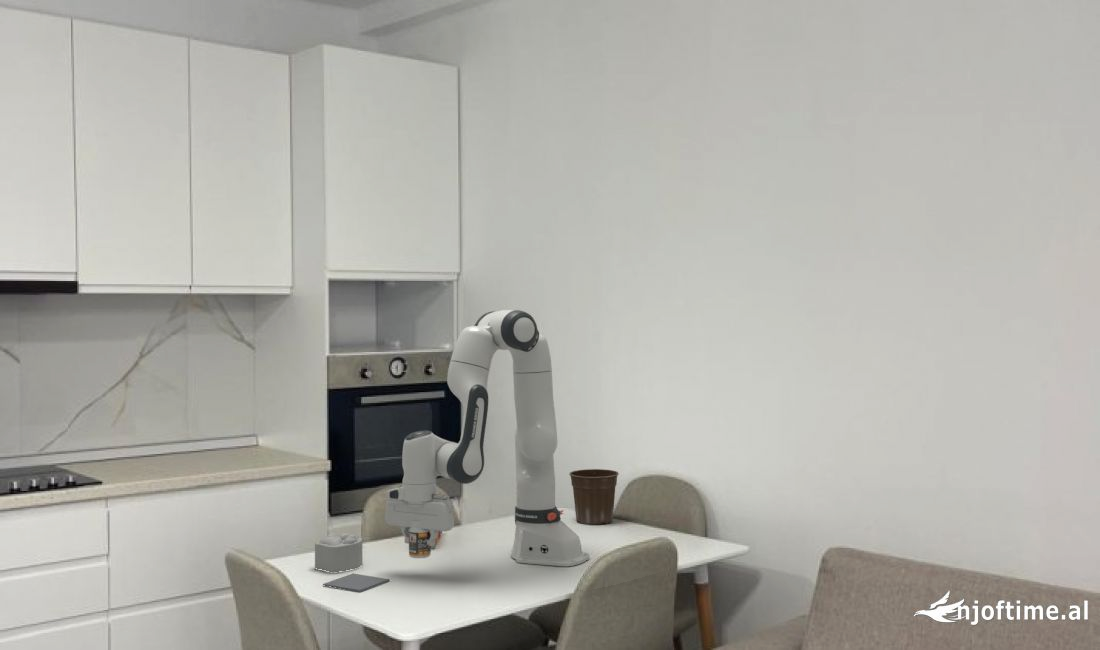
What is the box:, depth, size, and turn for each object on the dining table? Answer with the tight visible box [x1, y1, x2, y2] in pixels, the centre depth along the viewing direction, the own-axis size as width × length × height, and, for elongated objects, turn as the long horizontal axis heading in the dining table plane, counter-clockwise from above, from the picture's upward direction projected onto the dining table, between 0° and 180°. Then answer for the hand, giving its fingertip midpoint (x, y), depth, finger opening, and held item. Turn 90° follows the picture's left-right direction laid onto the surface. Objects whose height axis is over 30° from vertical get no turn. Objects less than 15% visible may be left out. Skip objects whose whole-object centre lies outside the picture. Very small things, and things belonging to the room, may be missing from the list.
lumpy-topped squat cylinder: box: [314, 532, 363, 572], centre depth 296 cm, size 10×13×9 cm
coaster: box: [322, 573, 390, 593], centre depth 278 cm, size 12×12×1 cm
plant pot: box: [569, 468, 620, 525], centre depth 356 cm, size 16×16×16 cm
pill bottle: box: [408, 520, 432, 559], centre depth 287 cm, size 6×6×10 cm
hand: (419, 544), depth 287 cm, fingers closed on pill bottle, 6 cm apart
